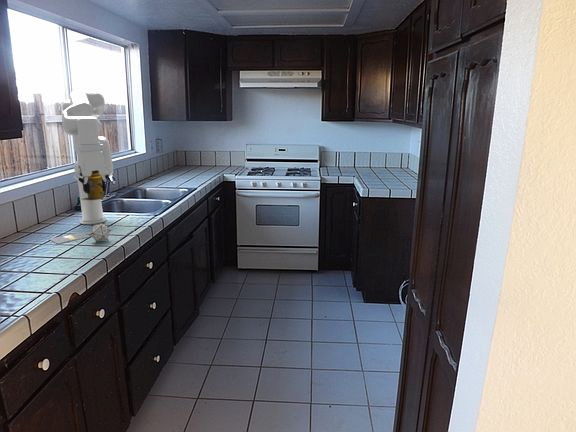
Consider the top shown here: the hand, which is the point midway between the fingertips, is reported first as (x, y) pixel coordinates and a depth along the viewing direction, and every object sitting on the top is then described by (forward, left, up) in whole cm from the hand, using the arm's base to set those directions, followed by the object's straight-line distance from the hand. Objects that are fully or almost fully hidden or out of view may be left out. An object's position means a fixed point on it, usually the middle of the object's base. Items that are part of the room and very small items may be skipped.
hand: (95, 191), depth 176 cm
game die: (0, 0, -22) cm, 22 cm away
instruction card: (-15, -7, -22) cm, 27 cm away
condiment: (0, -1, -3) cm, 3 cm away
